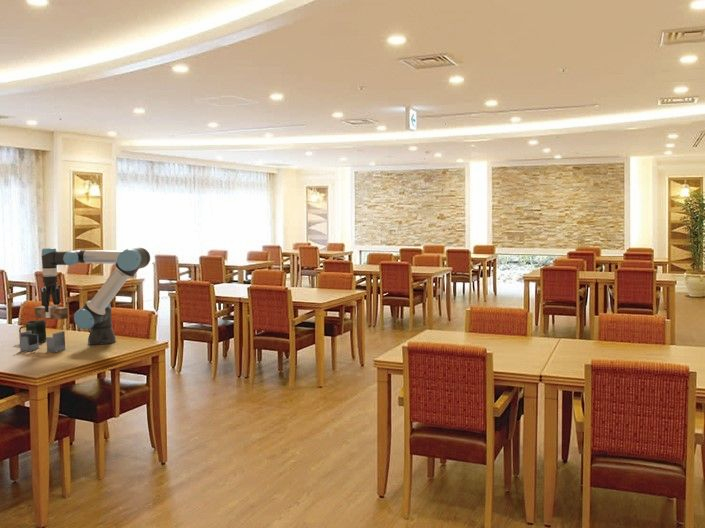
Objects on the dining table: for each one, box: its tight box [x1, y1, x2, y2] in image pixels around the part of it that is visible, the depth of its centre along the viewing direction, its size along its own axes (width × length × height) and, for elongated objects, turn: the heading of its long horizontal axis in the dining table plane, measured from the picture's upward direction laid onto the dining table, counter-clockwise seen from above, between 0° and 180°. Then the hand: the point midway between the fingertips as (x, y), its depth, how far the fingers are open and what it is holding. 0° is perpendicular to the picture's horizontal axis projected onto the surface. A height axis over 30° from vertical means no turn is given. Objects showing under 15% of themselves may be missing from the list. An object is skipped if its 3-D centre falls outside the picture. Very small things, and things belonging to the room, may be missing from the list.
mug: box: [18, 319, 47, 344], centre depth 405 cm, size 11×15×12 cm
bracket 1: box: [18, 330, 40, 352], centre depth 382 cm, size 5×9×10 cm, turn 166°
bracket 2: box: [46, 330, 66, 353], centre depth 378 cm, size 5×9×10 cm, turn 166°
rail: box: [34, 305, 69, 321], centre depth 388 cm, size 18×5×6 cm, turn 73°
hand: (51, 316), depth 388 cm, fingers closed on rail, 5 cm apart
